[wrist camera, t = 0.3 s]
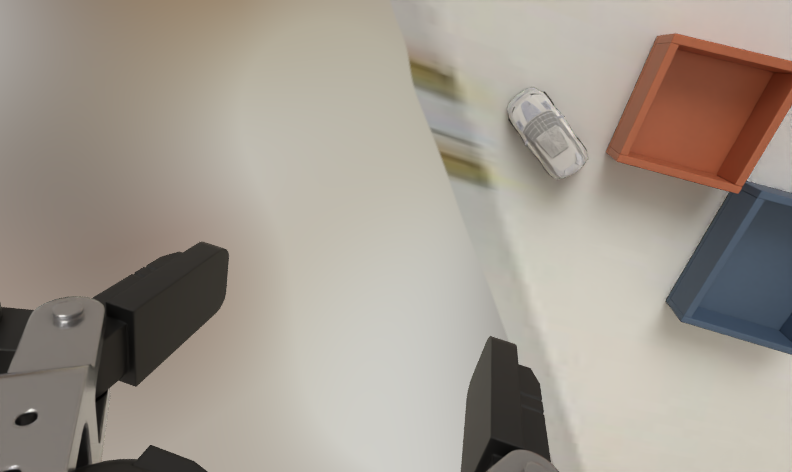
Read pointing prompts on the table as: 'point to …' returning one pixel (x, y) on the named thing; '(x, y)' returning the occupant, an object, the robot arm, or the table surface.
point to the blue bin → (743, 271)
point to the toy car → (546, 133)
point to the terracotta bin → (703, 111)
